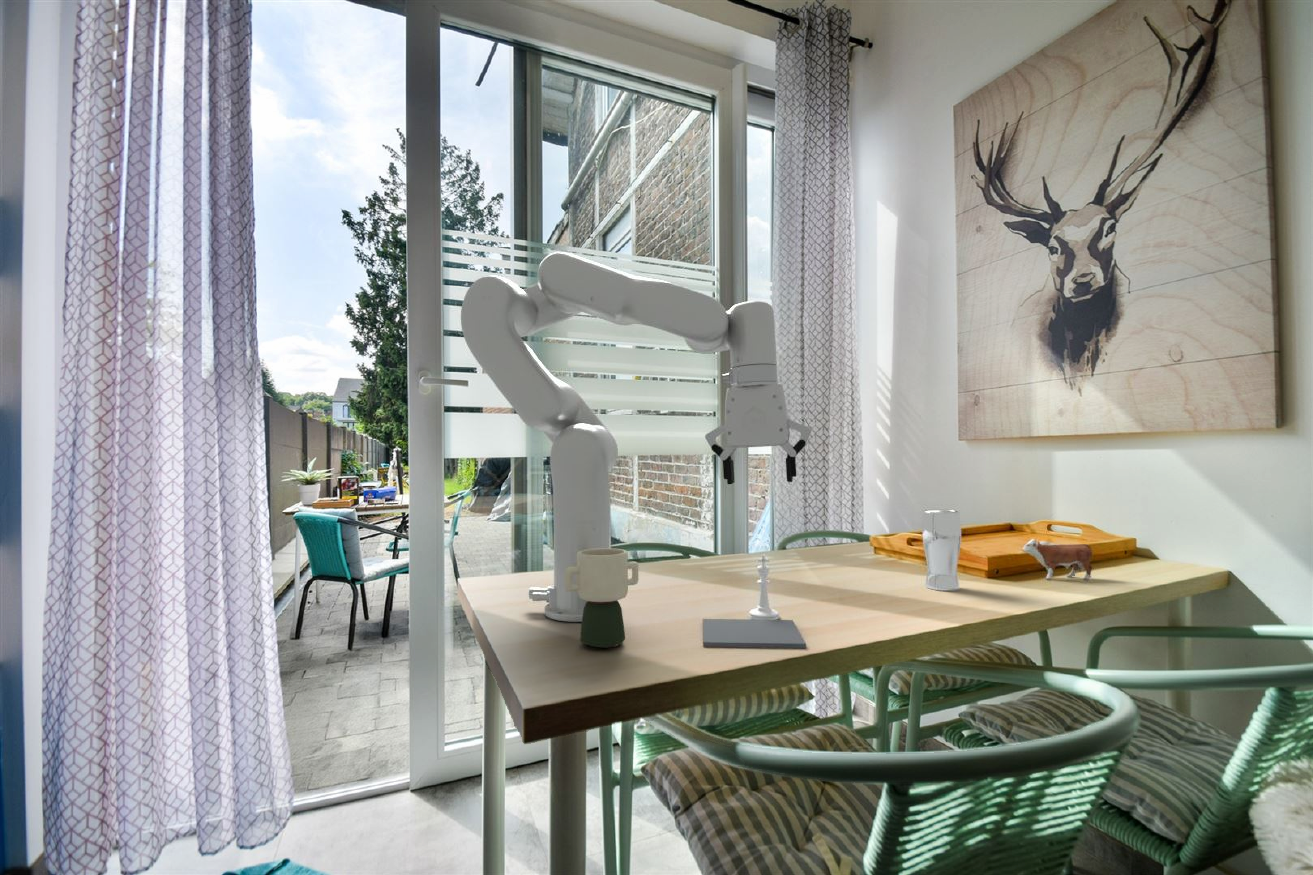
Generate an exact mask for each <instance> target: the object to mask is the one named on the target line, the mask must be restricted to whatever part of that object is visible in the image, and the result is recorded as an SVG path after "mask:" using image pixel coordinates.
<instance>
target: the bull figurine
mask: <svg viewBox="0 0 1313 875" xmlns="http://www.w3.org/2000/svg"><path fill="white" fill-rule="evenodd" d="M1021 552H1022V553H1026V554H1027V553H1028V554H1029V555H1030V556H1032V557H1034V558H1035V559H1036V560H1037V562H1038V563H1040V564H1041V565H1042V566H1043V567H1045V569H1046V570H1047V575H1045V580H1046V581H1050V580H1052V579H1053V577H1054V575H1053V573H1054V571H1055V569H1056V566H1063V567H1065V569H1066V570H1069V568H1070V567H1071V566H1072V569H1071V571H1070V572H1069V574H1067V575H1066V578H1073V577H1075V576H1076V572H1077V571H1079V573H1081V572H1082V571H1084V569H1085V576H1084V578H1083V580H1085V581H1089V580H1090V579H1091V578H1092V575H1091V574H1092V570H1093V567H1092V564H1091V560H1092V557H1093V551H1092V547H1090V545H1088V544H1086V543H1081V544H1080V543H1079V544H1074V543H1073V544H1061V543H1060V544H1058V543H1053V542H1049V541H1045V540H1042V541H1037V539H1035V538H1031V539H1030V540H1029V541H1028V542H1026V543H1025V545H1024V546H1023V548H1021Z"/></svg>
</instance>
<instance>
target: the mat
mask: <svg viewBox="0 0 1313 875" xmlns="http://www.w3.org/2000/svg"><path fill="white" fill-rule="evenodd" d="M702 646H703V647H708V648H709V647H710V648H711V647H713V648H714V647H715V648H716V647H717V648H764V647H778V649H779V648H780V649H782V648H783V649H807V643H806V642H805V640H804V638H803V635H802V634H801V633H800V630H799V629H798V627H797V625H796V624H795V622H794V620H793V619H777V620H757V619H751V618H750V619H741V618H740V619H738V618H702ZM781 647H782V648H781Z"/></svg>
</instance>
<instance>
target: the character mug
mask: <svg viewBox="0 0 1313 875" xmlns="http://www.w3.org/2000/svg"><path fill="white" fill-rule="evenodd" d="M629 569H630V570H631V578H629ZM576 573H577V584H572V577H571V575H572V574H576ZM638 582H639V564H638V562H637V561H629V554H628V550H625V549H622V548H621V549H620V548H613V547H611V548H594V549H586V550H582V551H579V552H577V566H575V567H568V568H566V569H565V590H566V591H578V594H579V596H580V598H581V599H584V600H586V601H588V602H587V603H586V604H585V606H584V610H583V617H582V622H581V625H580V636H579V637H580V638H579V641H580V642H581V643H583V644H584V645H587V646H591V647H596V648H611V647H616V646H618V645H621V644H622V643H624V641H625V640H626V633H625V632H626V631H625V624H624V619H623V618H624V617H623V609H622V606H621V604H620V603H619V600H622V599H624V598H626V597H627V595H628V591H629V586H635V585H637V584H638Z"/></svg>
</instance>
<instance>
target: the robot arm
mask: <svg viewBox="0 0 1313 875" xmlns="http://www.w3.org/2000/svg"><path fill="white" fill-rule="evenodd" d="M536 274H537V275H536V276H537V277H536V278H537V279H536V280H537V283H534V284H533V285H530V286H528V287H526V288H523V289H522V288H520V286H518V285H517V284H516V283H514V282H512V281H511V280H510V279H508V278H505V277H503V276H502V277H501V276H498V275H484V276H482V277H479V278H478V279H476V280H475V281H474V282H473V283H472V284H470V287H468V289H467V291H466V292H465V296H464V298H463V301H462V303H461V310H460V325H461V331H462V334H463V338H464V341H465V344H466V345H467V347H468V349H469V351H470V353H471V355H473V357H474V359H475V360H476V362H477V363H478V365H480V367H481V368H482V370H483V371H484V372H485V374H486V375H487V376H488V377H489V378H490V380H491V382H493V384H494V385H495V387H496V388H497V389H498V390H499V392H500V394H501V395H502V396H503V397H504V399H506V401H507V402H508V404H510V406H511V407H512V408H513V410H514V411H515V412H516V414H517V415H518V416H519V418H520V419H521V420H522V422H523V423H524V424H525V425H526V426H528V427H529V428H531V429H533V430H536V431H539V432H543V433H544V434H545V435H546V437H547V438H548V439H549V440H550V441H551V443H552V444H551V447H550V448H551V449H550V453H549V454H550V455H549V456H550V458H549V460H550V461H549V464H550V466H549V467H550V474H551V483H552V498H553V499H552V500H553V502H552V503H553V507H552V508H553V584H552V585H549V586H548V587H543V588H542V587H530V588H529V591H528V597H529V599H530V600H532V601H534V602H541V601H544V602H546V603H547V604H546V605H545V606H544V608H543V610H544V615H545V616H546V617H547V618H549V619H551V620H555V621H561V622H570V623H571V622H572V623H582V617H583V610H584V606H585V604H586V603H587V602H588V601H586V600H584V599H581V598H580V596H579V594H578V591H566V590H565V569H566V568H568V567H575V566H577V552H579V551H582V550H586V549H594V548H612V546H611V545H612V543H611V539H612V537H611V536H612V534H611V533H612V532H611V531H612V529H611V527H612V525H611V524H612V523H611V522H612V521H611V520H612V519H611V488H610V472H611V471H612V469H613V468H614V467H615V465H616V463H617V460H618V456H619V449H618V445H617V441H616V439H615V437H614V436H613V434H612V433H611V431H609V429H608V428H607V427H606V426H605V425H604V423H603V422H602V421H601V419H599V417H598V416H597V415H596V413H595V412H594V410H592V409H591V408H590V406H589V405H588V403H586V401H585V399H584V398H582V396H581V395H580V394H579V393H578V392H577V391H576V390H575V389H574V388H573V387H572V386H571V385H569V384H567V383H566V382H564V381H562V380H560V379H558V378H557V377H555V376H554V375H553V374H552V373H551V372H550V371H549V370H548V369H547V368H546V367H545V365H544V364H543V363H542V362H541V361H540V360H539V358H538V357H537V355H536V354H535V353H534V351H533V349H531V348H530V346H529V345H528V344H527V343H526V342H525V341H524V340H523V339H522V338H524V337H528V336H531V335H533V334H536V333H538V332H540V331H543V330H545V329H548V328H550V327H552V326H555V325H557V324H559V323H561V322H564V321H566V320H568V319H570V318H573V317H576V316H577V315H579V314H580V313H585V314H587V315H591V316H593V317H596V318H599V319H601V320H604V321H605V322H606V321H607V322H610V323H612V324H615V325H618V326H630V325H631V326H632V325H641V326H642V325H643V326H647V327H651V328H655V329H657V330H661V331H662V332H663V331H664V332H667V333H670V334H672V335H675V336H678V337H681V338H683V339H684V341H685V343H686V345H687V346H688V348H689V349H690V350H692V351H693V352H695V353H698V354H701V355H702V354H703V355H709V354H714V353H715V354H716V353H719V352H725V351H728V350H729V356H730V358H729V360H730V369H729V370H730V371H728V373H725V374H722V382H723V383H729V384H730V385H731V387H728V388H727V389H726V392H725V393H726V394H725V400H724V401H725V402H724V404H725V405H724V423H723V424H721V425H720V426H717V427H716V428H715V429H712V430H711V431H709V432H708V433H706V434H705V436H704V437H705V440H706V442H707V445H709V446H710V449H711V451H712V452H713V453H715V455H716V456H718V457H719V458H720V460H722V472H723V475H722V476H723V479H724V480H726V483H727V485H733V484H734V483H735V472H734V471H735V469H734V468H735V466H734V464H735V463H734V460H733V459H732V455H734V453H735V451H736V450H737V449H740V448H742V449H743V448H764V447H765V448H766V447H781V449H783V451H784V452H785V453H786V457H785V470H786V471H785V472H786V481H787V482H788V483H792V482H793V481H794V479H793V478H795V477H796V478H797V462H796V461H797V460H796V456H797V455H798V454H800V452H801V451H802V450H803V449H804V448H805V447H806V446H807V443H808V441H809V438H810V436H811V435H812V429H811V428H810V427H807V426H805V425H803V424H801V423H798V422H796V421H794V420H791V419H789V417H788V416H789V414H788V407H787V402H786V396H785V391H784V387H783V385H782V384H781V383H780V384H779V379H778V366H777V365H778V362H777V346H776V345H777V343H776V328H775V327H776V326H775V312H774V308H773V306H772V305H771V304H770V303H768V302H765V301H758V300H755V301H754V300H753V301H744V302H741V303H737V304H734V305H733V306H732V307H731V308H730V309H729V310H726V308H725V307H724V306H723V304H722V303H721V302H719V301H718V300H717V299H716V298H713V297H712V296H710V295H707V294H704V293H702V292H698V291H695V290H693V289H690V288H688V287H685V286H682V285H678V284H676V283H671V282H669V281H665V280H660V279H653V278H647V277H645V276H644V277H642V276H637V275H636V276H635V275H633V274H629V273H627V272H623V271H620V270H618V269H616V268H615V269H614V268H612V267H609V266H606V265H604V264H600V263H598V262H595V261H592V260H589V259H586V258H584V257H580V256H578V255H574V254H573V253H567V252H561V251H557V252H554V253H550V254H548V255H547V256H545V257H544V258H543V259H542V261H541V262H540V264H539V266H538V269H537V273H536ZM790 429H792V430H794V431H795V432H799V433H800V437H799V440H798V441H797V442H796V443H795V444H794V446H793V445H792V444H791V443H790V442H789V441H790ZM723 434H724V439H725V444H726V447H725V448H723V447H721V445H719V443H718V441H717V438H718V437H720V436H722V435H723ZM571 577H572V584H577V573H576V574H572V575H571Z"/></svg>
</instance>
